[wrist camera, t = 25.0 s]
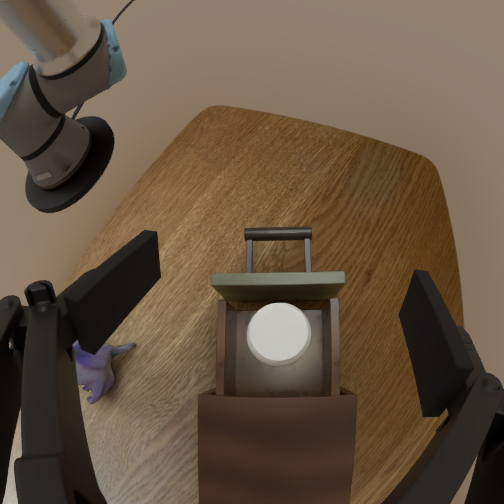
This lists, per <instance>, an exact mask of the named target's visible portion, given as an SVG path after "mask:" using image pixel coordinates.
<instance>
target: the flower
mask: <svg viewBox="0 0 504 504" xmlns="http://www.w3.org/2000/svg"><path fill="white" fill-rule="evenodd" d="M133 346H135V343H134V342H133V343H129V344H125V345H120V346H117V347H114V346H111V345H109V344H106V343H104V344H103V346H102V347H101V348H100V349H99V351H98V352H97V353H96V354H95V355H93V354H90V353H88V352H85V351H83V350H81V348H80V345H79V343H78V340H76V342H75V343H74V344H73V347H74V350H75V360H76V371H77V380H78V385H85V387H83V388H82V389H83V390H86V391H88V392H89V390H91V391H92V396H91V397H88V398H87V400H88V401H89V402H90V404H94V403H95V402H97V401H98V400H99V399H100V398H101V397H102V396H103V395H104V394H105V393H106V391H107V390H108V389H109V388H111V387H112V385H113V384H114V381H115V378H114V374H113V371H112V369H111V360H112V358H113V357H114V356H115V355H118V354H123V353H125V352H126V351H128V350H130V349H131V348H132V347H133Z"/></svg>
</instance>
